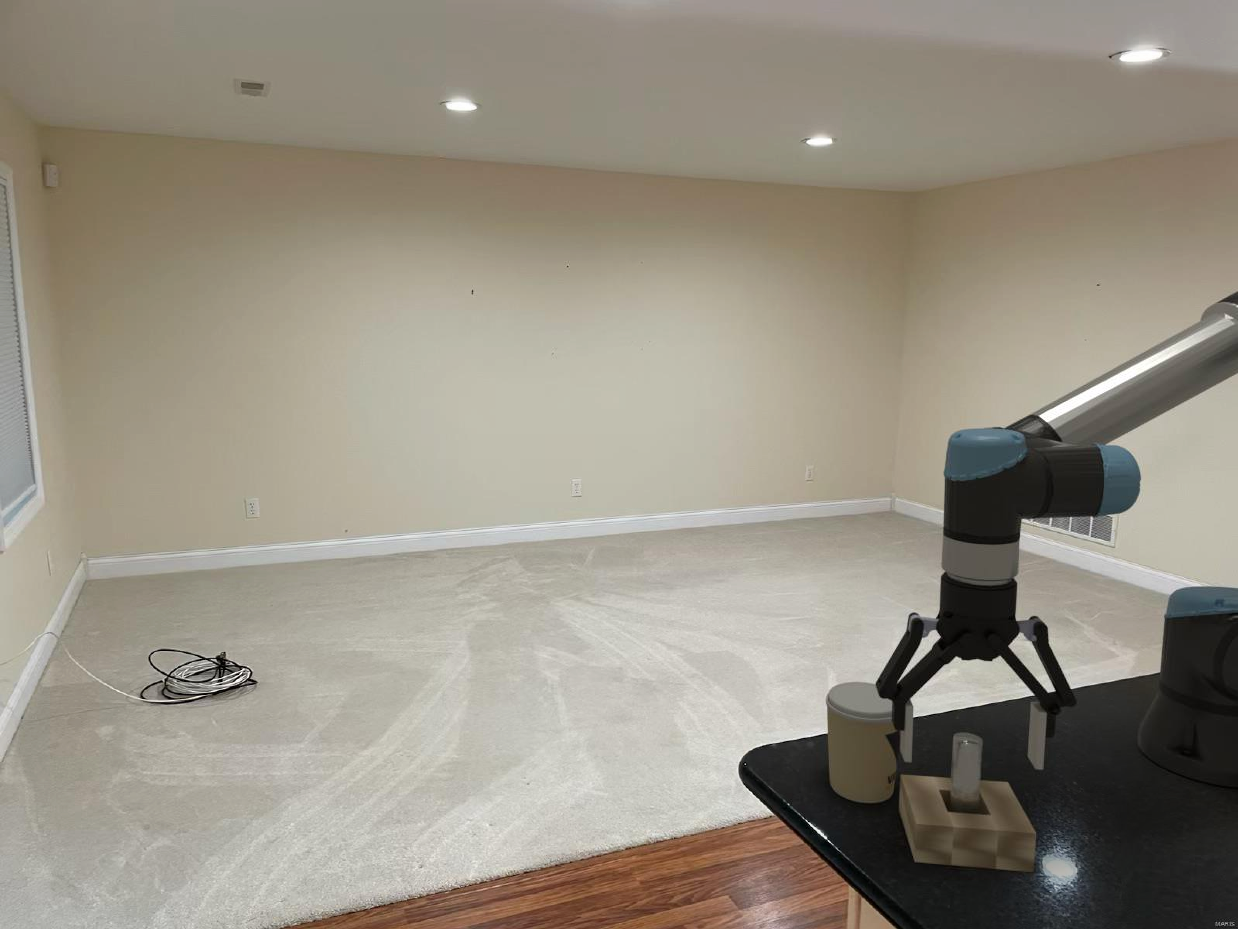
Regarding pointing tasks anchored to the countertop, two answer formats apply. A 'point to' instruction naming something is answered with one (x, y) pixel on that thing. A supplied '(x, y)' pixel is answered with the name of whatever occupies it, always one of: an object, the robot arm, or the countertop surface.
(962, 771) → the peg
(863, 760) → the coffee cup
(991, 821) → the hole block
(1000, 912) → the countertop surface
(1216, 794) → the countertop surface
